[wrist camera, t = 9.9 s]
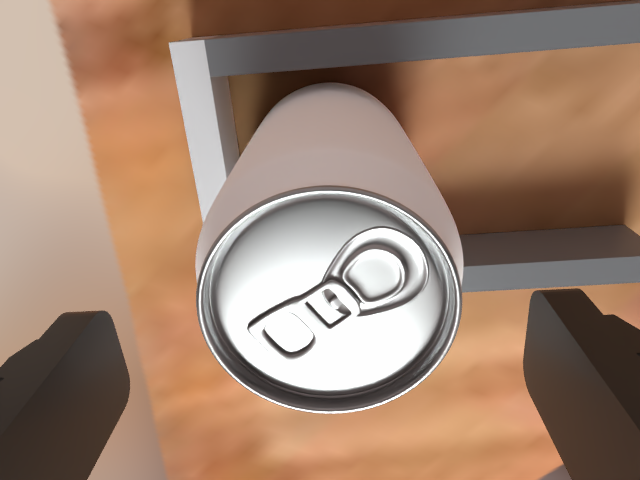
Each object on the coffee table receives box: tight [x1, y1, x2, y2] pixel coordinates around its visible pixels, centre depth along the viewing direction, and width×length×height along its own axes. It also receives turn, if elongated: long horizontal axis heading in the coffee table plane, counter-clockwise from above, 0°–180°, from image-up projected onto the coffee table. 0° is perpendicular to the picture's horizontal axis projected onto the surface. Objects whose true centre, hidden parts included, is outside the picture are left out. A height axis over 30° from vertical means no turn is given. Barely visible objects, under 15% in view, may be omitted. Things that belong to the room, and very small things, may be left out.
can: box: [196, 83, 463, 414], centre depth 16 cm, size 6×6×12 cm
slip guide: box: [169, 0, 640, 292], centre depth 20 cm, size 18×10×3 cm, turn 95°
